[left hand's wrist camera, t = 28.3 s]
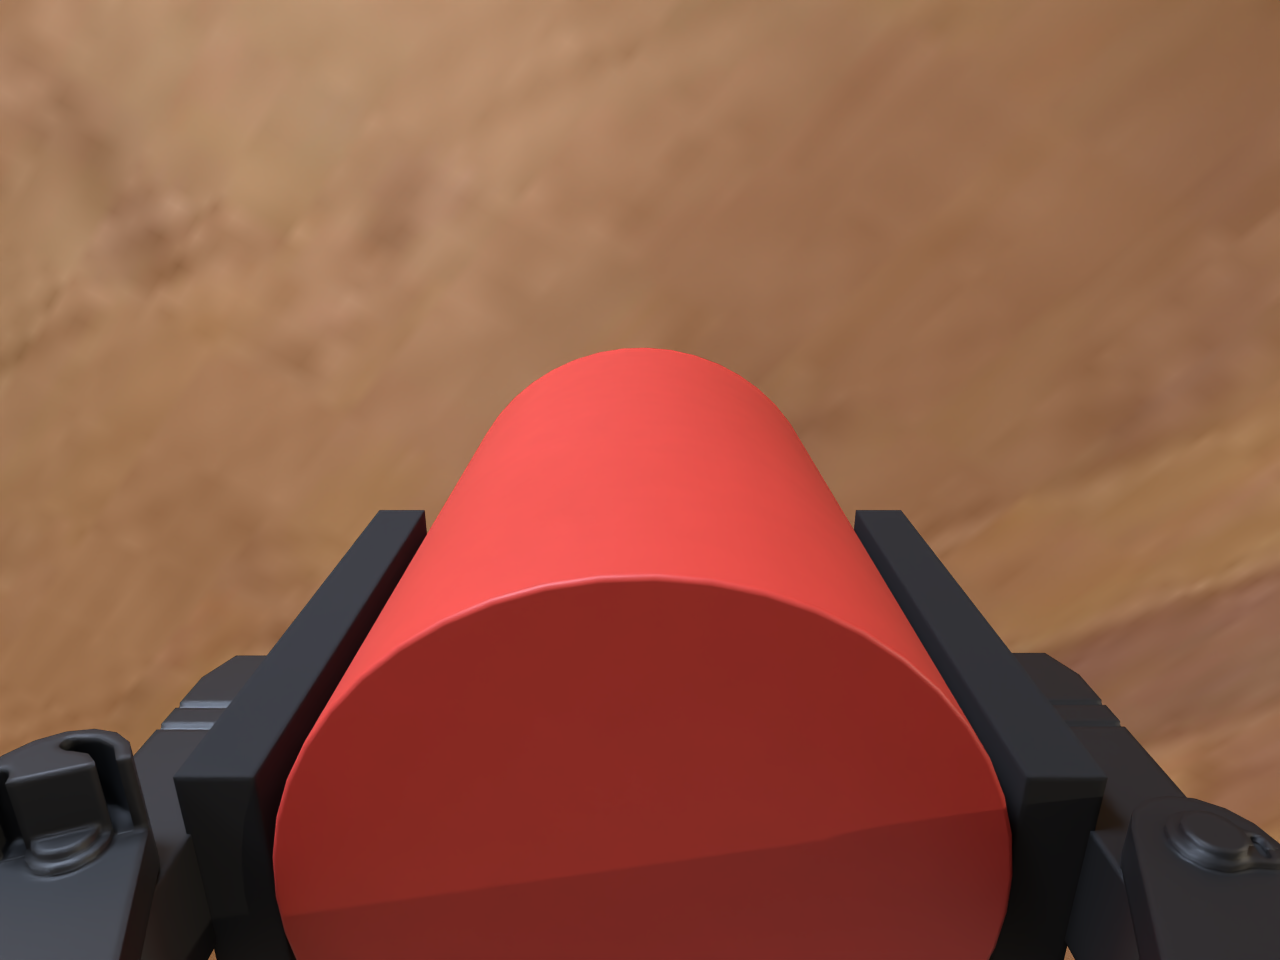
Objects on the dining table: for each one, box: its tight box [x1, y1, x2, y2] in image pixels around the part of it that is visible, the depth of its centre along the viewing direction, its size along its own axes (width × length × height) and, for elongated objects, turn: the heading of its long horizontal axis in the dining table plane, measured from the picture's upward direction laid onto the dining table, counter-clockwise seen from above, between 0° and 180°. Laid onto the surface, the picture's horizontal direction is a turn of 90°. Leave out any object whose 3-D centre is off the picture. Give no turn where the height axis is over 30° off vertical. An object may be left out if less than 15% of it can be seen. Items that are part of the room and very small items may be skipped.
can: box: [273, 348, 1012, 960], centre depth 13 cm, size 7×7×10 cm
